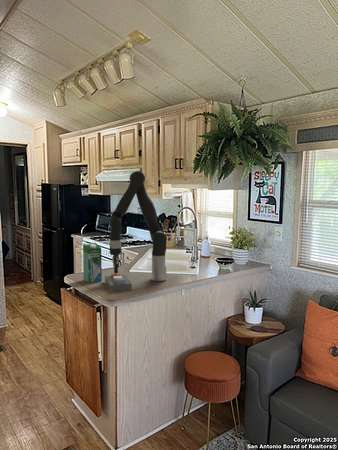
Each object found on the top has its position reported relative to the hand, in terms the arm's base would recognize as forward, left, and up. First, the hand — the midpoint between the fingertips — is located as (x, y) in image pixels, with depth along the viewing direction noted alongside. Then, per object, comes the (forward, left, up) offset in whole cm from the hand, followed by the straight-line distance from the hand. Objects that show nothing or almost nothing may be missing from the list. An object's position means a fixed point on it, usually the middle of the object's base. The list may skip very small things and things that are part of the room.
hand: (115, 272), depth 215 cm
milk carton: (+14, -9, -7) cm, 18 cm away
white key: (0, +7, -4) cm, 8 cm away
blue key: (0, +14, -3) cm, 15 cm away
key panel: (0, +7, -7) cm, 10 cm away
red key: (0, 0, -4) cm, 4 cm away
